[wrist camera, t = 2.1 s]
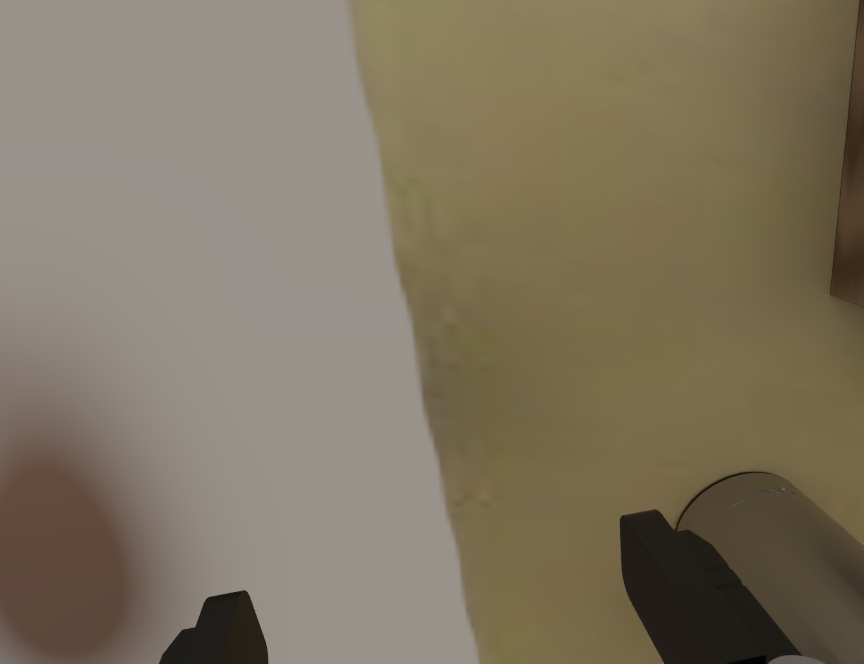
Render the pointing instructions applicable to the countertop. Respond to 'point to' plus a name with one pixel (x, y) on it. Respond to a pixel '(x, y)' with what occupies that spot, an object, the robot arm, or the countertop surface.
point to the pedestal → (852, 190)
